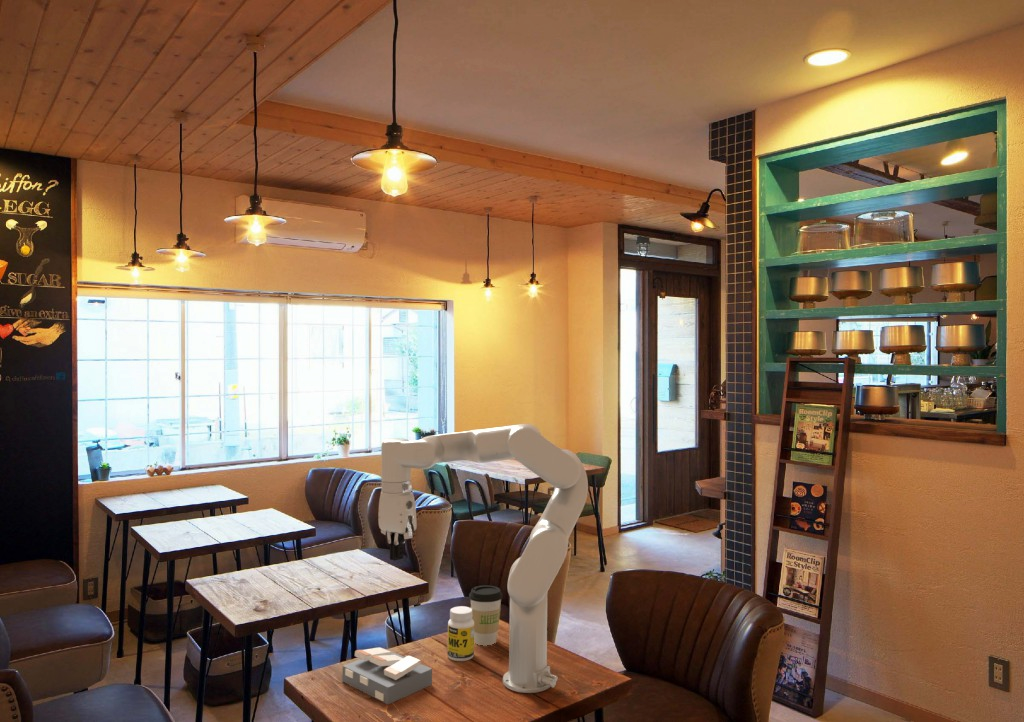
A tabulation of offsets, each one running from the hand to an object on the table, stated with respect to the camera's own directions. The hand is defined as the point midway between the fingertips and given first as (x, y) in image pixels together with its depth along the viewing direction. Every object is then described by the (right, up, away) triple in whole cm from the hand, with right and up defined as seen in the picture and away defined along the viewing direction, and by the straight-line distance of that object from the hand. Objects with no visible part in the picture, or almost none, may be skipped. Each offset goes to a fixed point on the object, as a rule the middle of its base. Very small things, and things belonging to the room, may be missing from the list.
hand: (396, 558), depth 182 cm
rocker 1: (-6, -25, +1) cm, 26 cm away
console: (-2, -30, -3) cm, 31 cm away
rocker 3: (+3, -25, -7) cm, 26 cm away
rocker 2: (-2, -25, -3) cm, 25 cm away
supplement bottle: (+15, -31, +13) cm, 37 cm away
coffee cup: (+22, -31, +24) cm, 45 cm away
